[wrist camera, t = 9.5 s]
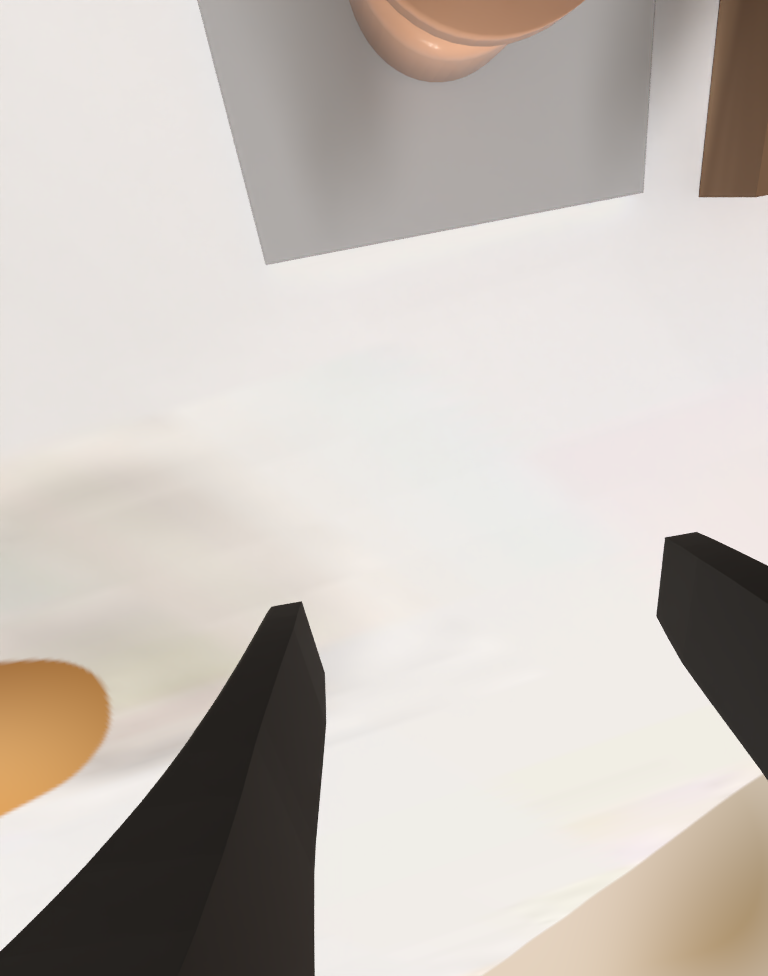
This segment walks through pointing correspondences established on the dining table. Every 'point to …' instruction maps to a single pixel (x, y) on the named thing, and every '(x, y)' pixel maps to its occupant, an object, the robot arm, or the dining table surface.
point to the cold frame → (738, 104)
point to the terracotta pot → (451, 31)
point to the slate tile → (424, 123)
